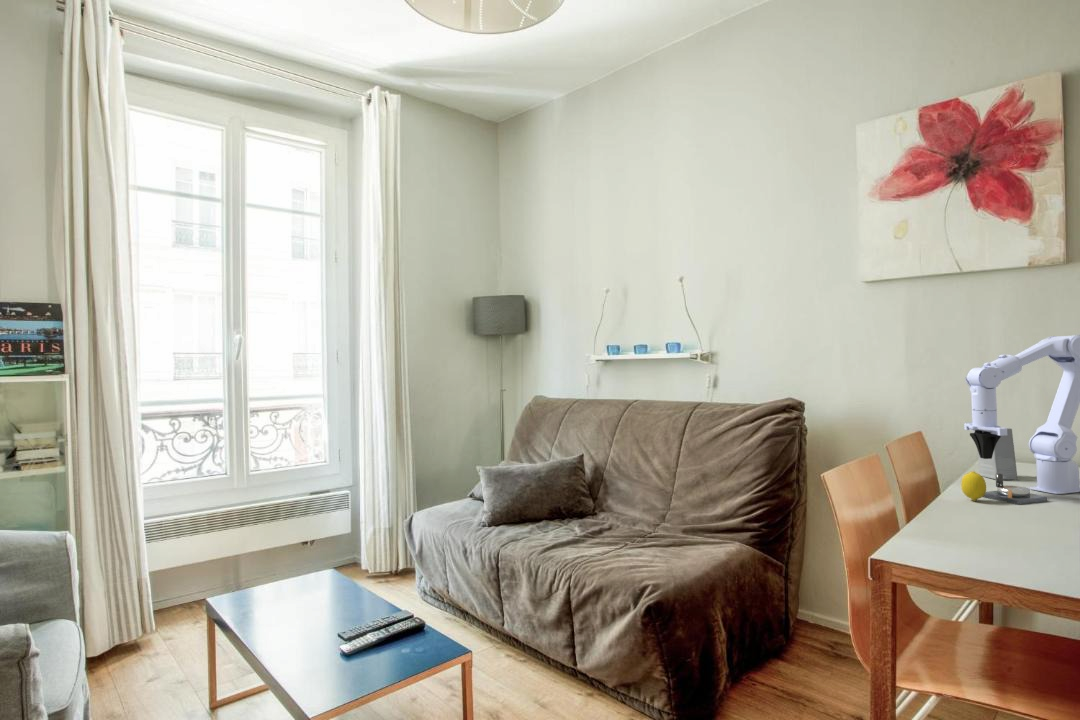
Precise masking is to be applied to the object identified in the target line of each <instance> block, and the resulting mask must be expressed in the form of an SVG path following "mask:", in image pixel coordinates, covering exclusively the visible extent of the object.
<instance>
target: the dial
mask: <svg viewBox="0 0 1080 720" xmlns="http://www.w3.org/2000/svg"><path fill="white" fill-rule="evenodd" d="M995 487H996V488H997V489H996V491H997V493H999V494H1002V495H1007V496H1008V490H1011V491H1012V496H1017V497H1025V496H1030V493H1031V489H1029V487H1025V486H1019V485H1006V484H1005V485H1004V480H1003V474H999V473H996V479H995Z"/></svg>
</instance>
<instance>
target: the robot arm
mask: <svg viewBox="0 0 1080 720" xmlns="http://www.w3.org/2000/svg"><path fill="white" fill-rule="evenodd" d="M1045 357H1048V358H1049V359H1050V360H1052V362H1054V363H1056V365H1058V366H1059V367H1060V368H1061V369H1062V370H1063V372H1062V376H1061V379H1060V381H1059V385H1058V387H1057V391H1056V394H1055V396H1054V399H1053V402H1052V405H1051V408H1050V411H1049V413H1048V417H1047V419H1046V421H1045V423H1044V424H1042V425H1040V426H1039V427H1037V428H1036V431H1035V433H1034V434H1033V435H1032V436H1031V437H1030V438H1029V441H1028V448H1029V451H1030V452H1031V453H1032V454H1033V457H1034V458H1035V462H1036V463H1035V466H1036V467H1035V468H1036V486H1030V487H1028V488H1029V489H1030V490H1033V491H1038V492H1042V493H1043V492H1044V493H1048V494H1049V493H1050V494H1054V495H1063V494H1064V495H1065V494H1073V493H1074V494H1075V493H1080V469H1079V465H1078V464H1077V463H1076V462H1075V461H1074V460H1072V459H1073V458H1074V457H1075V455H1076V453H1077V440H1078V436H1077V434H1076V433H1075V432H1074V431H1073V430H1072V427H1073V424H1074V421H1075V418H1076V415H1077V412H1078V409H1079V406H1080V334H1075V335H1061V336H1060V335H1059V336H1057V335H1051V336H1048V337H1046V338H1043V339H1041V340H1040V341H1039V342H1037V343H1036V344H1033V345H1032V346H1030V347H1028V348H1026V349H1024V350H1023V351H1020V352H1019V353H1017V354H1015V355H1013V354H1000V355H998V358H997V359H994V360H993V361H991V362H985V363H983V365H982V367H973V368H971V369H970V370H969V372H968V373H967V376H966V377H964V379H965V383H966V384H967V385H968V386H969V392H970V396H971V397H970V398H971V399H970V400H971V421H972V422H965V423H963V425H964V426H963V427H964V429H963V430H965V431H973V432H969V436H970V437H971V439H972V440H973V442H974V444H975V446H976V450H977V449H978V452H979V455H980V458H983V459H992V456H993V452H994V448H995V446H996V444H997V442H998V440H999V439H1000V437H1001V436H1004V435H1007V427H1003V426H999V425H998V411H997V410H998V409H997V406H998V405H997V404H998V403H997V387H999V386H1000V384H1001V382H1002V381H1004V380H1007V379H1008V378H1010V377H1012V376H1014V375H1016V374H1019V373H1021V371H1022V369H1023V367H1024V366H1026V365H1028V364H1031V363H1033V362H1035V361H1038V360H1039V359H1042V358H1045ZM979 429H980V430H979ZM985 430H987V431H985ZM978 452H977V453H978Z"/></svg>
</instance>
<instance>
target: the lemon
mask: <svg viewBox="0 0 1080 720" xmlns="http://www.w3.org/2000/svg"><path fill="white" fill-rule="evenodd" d="M984 478H985V477H983V476H981V475H980V473H977V472H976V471H975V470H973V471H970V472H967V473H966V474H964V475H963V476H962V478H961V482H960V487H961V491H962V493H963V494H964V495H965V496H966V498H969V499H970V500H971V501H973V502H976V501H977V500H979V499H982V498H984V497H983V496H984V495H985V493H986V492H987V482H986V480H985V479H984Z"/></svg>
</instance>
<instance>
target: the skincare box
mask: <svg viewBox="0 0 1080 720" xmlns="http://www.w3.org/2000/svg"><path fill="white" fill-rule="evenodd" d="M1006 428H1007V427H1006ZM979 430H980V429H979ZM985 431H987V430H985ZM1014 443H1015V442H1014V436H1013V428H1010V427H1008V428H1007V435H1004V436H1001V437H1000V439H999V440H998V442H997V444H996V446H995V448H994V452H993V456H992V459H983V458H980V455H979V452H978V449H977V448H976V450H977V460H978V470H979V475H981V476H982V477H983V478H989V479H992V480H996V473H999V474H1003V481H1004V480H1018V470H1017V462H1016V453H1015V445H1014Z"/></svg>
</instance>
